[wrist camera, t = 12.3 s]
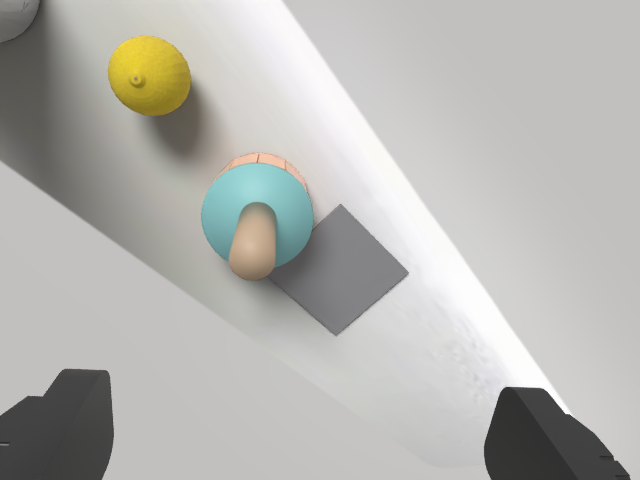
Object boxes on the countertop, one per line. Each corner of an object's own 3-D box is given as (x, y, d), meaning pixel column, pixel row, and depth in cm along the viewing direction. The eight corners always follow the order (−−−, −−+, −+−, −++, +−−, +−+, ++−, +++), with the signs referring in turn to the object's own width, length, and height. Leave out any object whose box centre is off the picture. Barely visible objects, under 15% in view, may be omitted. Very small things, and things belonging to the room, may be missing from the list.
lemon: (195, 115, 39) (175, 128, 31) (128, 103, 38) (90, 113, 30) (201, 46, 37) (181, 42, 29) (130, 31, 36) (91, 24, 28)
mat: (266, 273, 44) (266, 275, 44) (340, 203, 42) (341, 205, 42) (335, 333, 48) (335, 335, 47) (407, 271, 46) (408, 272, 45)
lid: (181, 214, 38) (151, 260, 29) (256, 137, 36) (249, 162, 27) (260, 282, 40) (254, 343, 32) (333, 214, 39) (349, 258, 30)
